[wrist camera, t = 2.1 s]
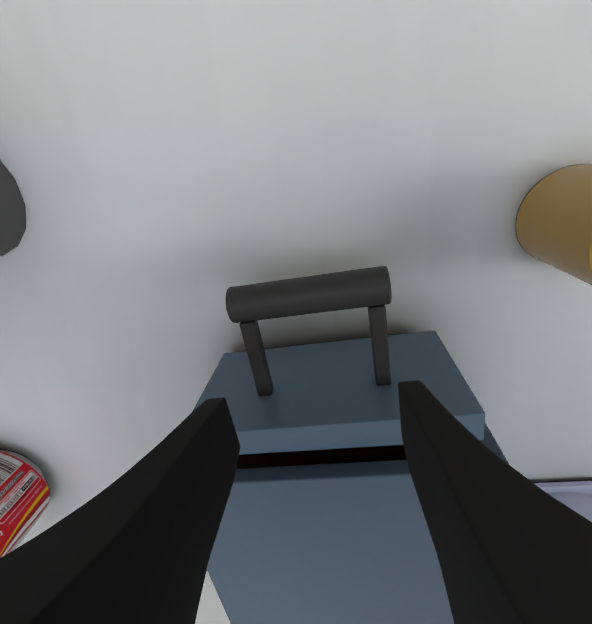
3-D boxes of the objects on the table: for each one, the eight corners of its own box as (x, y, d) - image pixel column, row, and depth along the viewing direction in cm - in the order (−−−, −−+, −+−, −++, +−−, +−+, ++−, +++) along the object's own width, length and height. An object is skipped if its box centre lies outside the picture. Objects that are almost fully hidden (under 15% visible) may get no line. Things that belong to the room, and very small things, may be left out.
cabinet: (225, 371, 21) (169, 486, 13) (443, 349, 19) (513, 469, 11) (270, 521, 26) (247, 662, 19) (444, 516, 24) (493, 671, 17)
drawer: (198, 268, 17) (133, 322, 11) (433, 233, 15) (493, 276, 10) (269, 507, 24) (250, 615, 18) (438, 501, 22) (475, 618, 16)
